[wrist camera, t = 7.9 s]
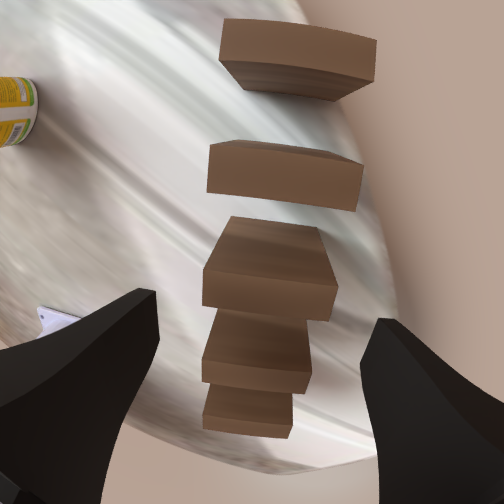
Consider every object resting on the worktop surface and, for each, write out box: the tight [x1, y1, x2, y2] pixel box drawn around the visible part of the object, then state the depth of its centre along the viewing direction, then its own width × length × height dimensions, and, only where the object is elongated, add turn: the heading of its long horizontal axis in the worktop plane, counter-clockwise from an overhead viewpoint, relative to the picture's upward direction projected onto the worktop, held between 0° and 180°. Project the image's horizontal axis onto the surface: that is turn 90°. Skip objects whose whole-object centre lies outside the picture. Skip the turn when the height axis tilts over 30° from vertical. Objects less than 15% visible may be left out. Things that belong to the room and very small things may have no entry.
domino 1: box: [219, 19, 377, 101], centre depth 11 cm, size 2×5×7 cm, turn 84°
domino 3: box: [202, 216, 338, 322], centre depth 14 cm, size 2×5×7 cm, turn 84°
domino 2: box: [207, 140, 364, 212], centre depth 12 cm, size 2×5×7 cm, turn 84°
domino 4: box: [202, 308, 312, 394], centre depth 16 cm, size 2×5×7 cm, turn 84°
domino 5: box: [203, 383, 293, 439], centre depth 18 cm, size 2×5×7 cm, turn 84°
